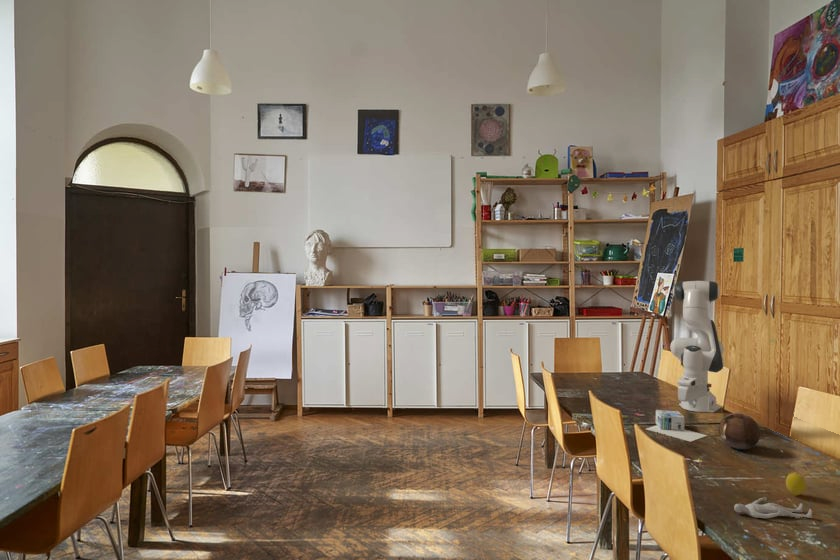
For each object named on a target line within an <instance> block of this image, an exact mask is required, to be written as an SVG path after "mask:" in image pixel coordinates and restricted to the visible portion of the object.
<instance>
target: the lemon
mask: <svg viewBox="0 0 840 560" xmlns="http://www.w3.org/2000/svg"><path fill="white" fill-rule="evenodd" d="M785 487H786V489H787V490H788V492H789V493H791V494H792V495H793V496H795V497H796V496H800V495H803V494H804V493H805V491H806V487H807V484H806V481H805V478H804V477H803V476H802V475H801V474H799V473H798V472H791V473H789V474H788V475H787V476H786V479H785Z"/></svg>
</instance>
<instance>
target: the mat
mask: <svg viewBox="0 0 840 560" xmlns="http://www.w3.org/2000/svg"><path fill="white" fill-rule="evenodd" d="M645 430H646V431H647V430H648V431H650V432H655V433H657V432H658V434H662V435H664V434H665V435H664V436H668V437H671V436H672V438H674V439H675V438H676V439H680V440H682V441H683V440H684V441H687V442H691V443H692V442H694V441H695V442H696V441H698V440H701V439H704V438H706V437H708V435H707V434H704V433H700V432H696V431H692V430H688V429H685V428H684V431H683V430H669V429H660V428H659V426H658V425H657V424H655V425H653V426H650V427H647V428H645Z"/></svg>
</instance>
